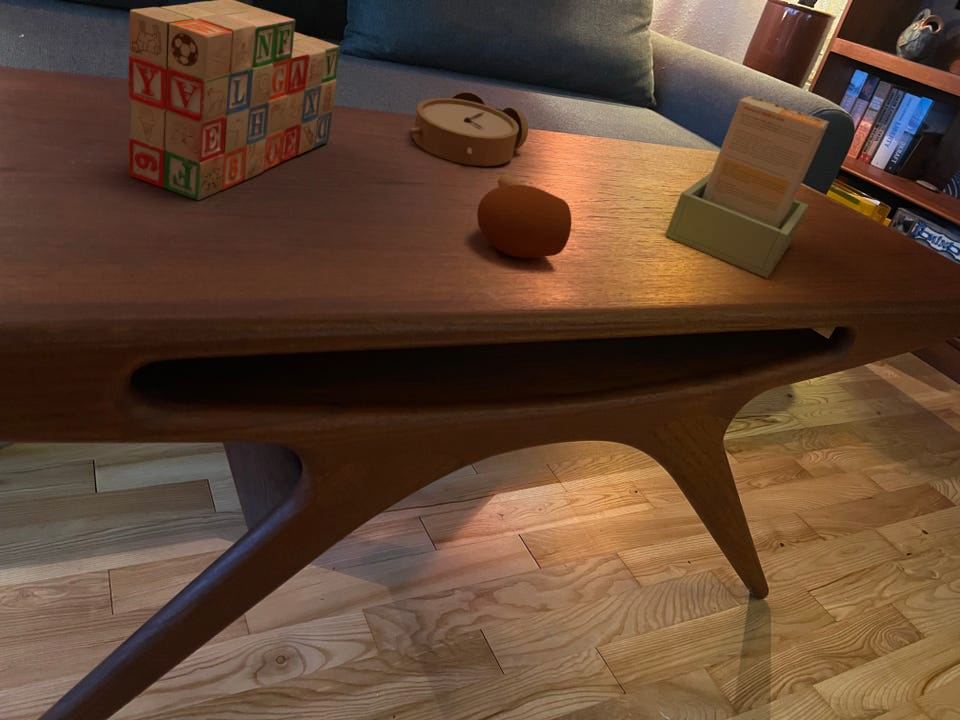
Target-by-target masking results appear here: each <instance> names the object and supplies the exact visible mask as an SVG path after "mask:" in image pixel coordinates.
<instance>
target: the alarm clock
mask: <svg viewBox="0 0 960 720" xmlns="http://www.w3.org/2000/svg"><path fill="white" fill-rule="evenodd" d="M408 131H409V133H410V134H412V138H413V141H414V142H415V144H416V145H418V146H419V147H420V148H421V149H422V150H424V151H426V153H427V152H428V153H429V154H431V155H434V156H436V157H437V158H441V159H444V160H447V161H450V162H453V163H458V164H463V165H467V166H479V167H491V166H500V165H503V164H507V163H509V161H511V159H512V158H513V156H514V151H516V150H518V149H519V148H522V147H523V145H524V144H525V142H526V140H527V138H528V135H529V125H528V120H527V117H526V116H525V115H524V114H523V113H522V111H521V110H519V109H517V108H514V107H505V108H504V109H502V108H499V107H495V106H491V105H486V103H485V102H484V100H483V99H482V98H481V96H479V95H478V94H476V93H475V92H472V91H461V92H458V93H456V94H455V95H453V96H452V97H437V98H436V97H435V98H429V99H425V100H423V101H421V102H419V103H418V104H417V108H416V116H415V123H414V127H412V128H410V129H409V130H408Z"/></svg>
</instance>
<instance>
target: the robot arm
mask: <svg viewBox="0 0 960 720" xmlns="http://www.w3.org/2000/svg"><path fill="white" fill-rule="evenodd" d="M953 9H954V10H956V11H957V10H958V11H960V0H957V1H956V3H955V5H954V7H953Z"/></svg>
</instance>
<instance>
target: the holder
mask: <svg viewBox="0 0 960 720" xmlns="http://www.w3.org/2000/svg"><path fill="white" fill-rule="evenodd" d="M711 173H712V171H711V172H710V173H708V174H706V175H705V176H704V177H702V178H701V179H700V180H698V181H696V182H695V183H694V184H692V185H691V186H689V187H688V188H686V189H685V190H684V191H682V192H681V193H680V195H679V198H678V200H677V203H676V206H675V208H674V211H673V213H672V216H671V218H670V221H669V224H668V227H667V228H666V231H665V234H664V237H666V238H668V239H671V240H674V241H675V242H678V243H681V244H683V245H685V246H688V247H690V248H692V249H695V250H698V251H699V252H702V253H704V254H707V255H709V256H712V257H714V258H717V259H719V260H721V261H724V262H727V263H729V264H731V265H733V266H735V267H738V268H741V269H743V270H746V271H748V272H750V273H753V274H754V275H757V276H760V277H762V278H765V279H768V278H769V276H770V275H771V273H772V272H773V270H774V269H775V267H776V266H777V264H778V262H779V261H780V260H781V258H782V257H783V256H784V254H785V252H786V251H787V249H788V248H789V246H790V245H791V243H792V242H793V239H794V237H795V236H796V235H795V234H796V233H797V231H798V228H799V226H800V225H801V222H802V220H803V218H804V216H805V214H806V212H807V210H808V208H809V204H807V203H804V202H802V201H800V200H797V199H794V201H793V203H792V205H791V207H790V210H789V212H788V214H787V216H786V219H785V221H784V223H783V225H782V227H781V229H778V228H775V227H773V226H770V225H768V224H765V223H763V222H760V221H758V220H755V219H752V218H750V217H747V216H745V215H742V214H740V213H737V212H735V211H732V210H730V209H727V208H725V207H722V206H719V205H717V204H714V203H712V202H709V201H707V200H704V199H702V196H703V193H704V191H705V188H706V186H707V183H708V181H709V178H710V175H711Z"/></svg>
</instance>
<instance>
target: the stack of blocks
mask: <svg viewBox="0 0 960 720" xmlns="http://www.w3.org/2000/svg"><path fill="white" fill-rule="evenodd" d="M295 27H296V19H295V18H291V17H289V16H285V15H282V14H279V13H275V12H272V11H269V10H265V9H262V8H259V7H255V6H252V5H249V4H247V3H244V2H241V1H238V0H207V1H196V2H189V3H187V4H186V3H185V4H176V5H167V6H166V5H165V6H160V7H159V6H152V7H143V8H133V9H130V11H129V53H130V54H129V55H128V83H127V85H128V98H129V140H128V141H129V142H128V143H129V144H128V148H129V149H128V152H129V153H128V155H129V156H128V157H129V159H128V160H129V162H128V166H129V167H128V172H129V176H131V177H132V178H135V179H138V180H141V181H143V182H147V183H148V184H152V185H155V186H157V187H160V188H164V189H166V190H169V191H172V192H173V193H177V194H179V195H182V196H184V197H187V198H190V199H193V200H195V201H200V200H203V199H205V198H207V197H209V196H211V195H214V194H216V193H218V192H220V191H225V190H226V189H229V188H231V187H234V186H235V185H238V184H240V183H242V182H244V181H246V180H248V179H251V178H254V177H256V176H258V175H260V174H262V173H263V172H264V171H267V170H268V169H270V168H272V167H274V166H277V165H279V164H281V163H283V162H286V161H287V160H289V159H292V158H294V157H296V156H298V155H302V154H304V153H305V152H307V151H311V150H312V149H314V148H317V147H320V146H321V145H322V146H323V145H324V144H326V143H328V142H329V139H330V132H331V124H332V118H333V110H334V106H335V105H334V104H335V99H336V89H337V83H338V82H337V79H336V77H337V72H338V65H339V57H340V49H341V46H340V45H337V44H335V43H331V42H328V41H325V40H323V39H319V38H316V37H313V36H309V35H306V34H302V33H300V32H297V31H295Z"/></svg>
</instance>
